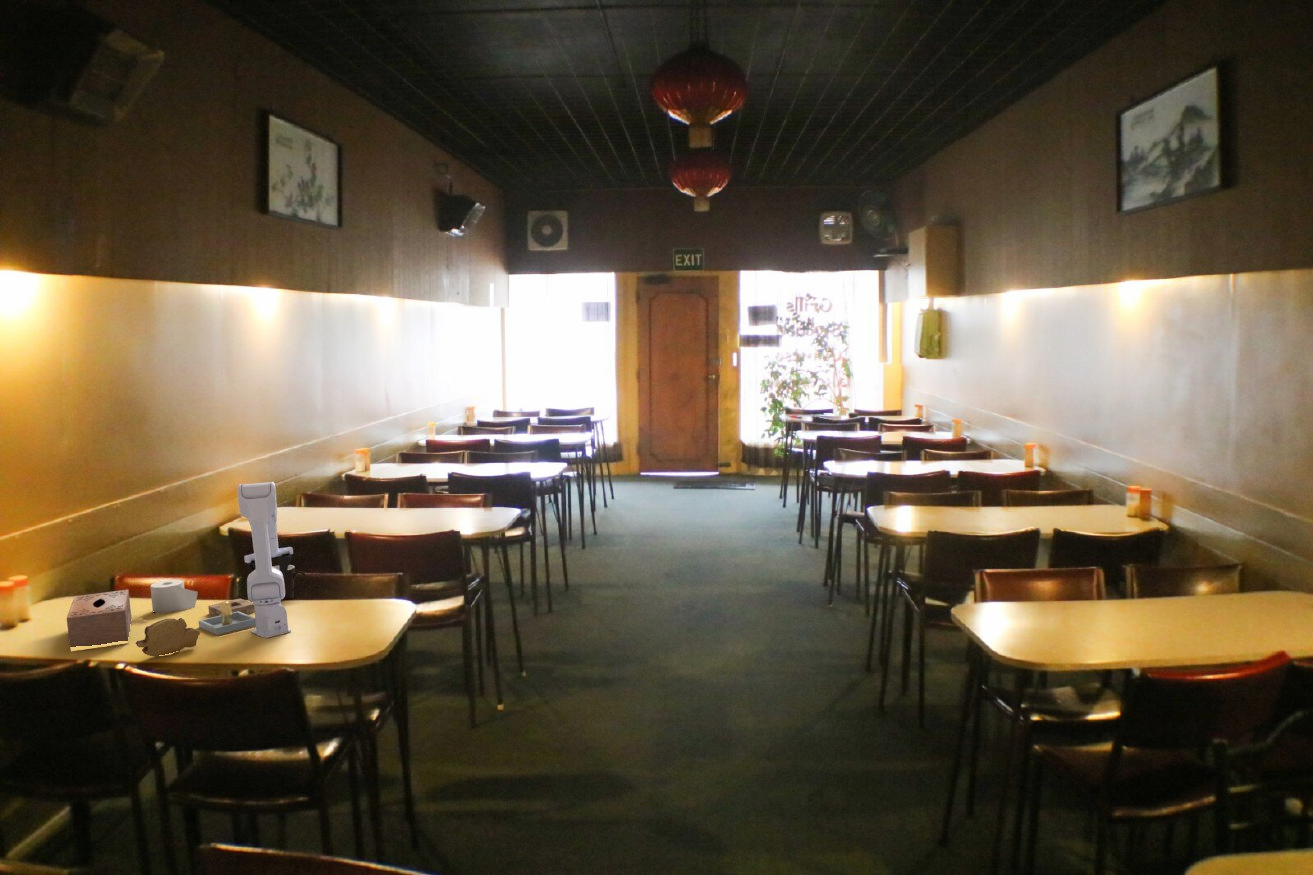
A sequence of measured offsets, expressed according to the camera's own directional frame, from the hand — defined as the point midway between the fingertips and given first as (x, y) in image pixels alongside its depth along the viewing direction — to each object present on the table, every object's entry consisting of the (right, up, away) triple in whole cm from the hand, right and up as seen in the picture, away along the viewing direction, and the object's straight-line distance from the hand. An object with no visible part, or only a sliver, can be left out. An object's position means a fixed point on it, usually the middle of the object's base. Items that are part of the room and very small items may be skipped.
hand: (271, 581), depth 322 cm
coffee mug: (-1, -8, +17) cm, 19 cm away
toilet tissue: (-34, -10, +9) cm, 36 cm away
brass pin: (-8, -11, -13) cm, 19 cm away
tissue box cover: (-43, -14, -16) cm, 48 cm away
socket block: (-12, -10, +1) cm, 16 cm away
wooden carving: (-15, -15, -35) cm, 41 cm away
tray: (-8, -12, -13) cm, 19 cm away
